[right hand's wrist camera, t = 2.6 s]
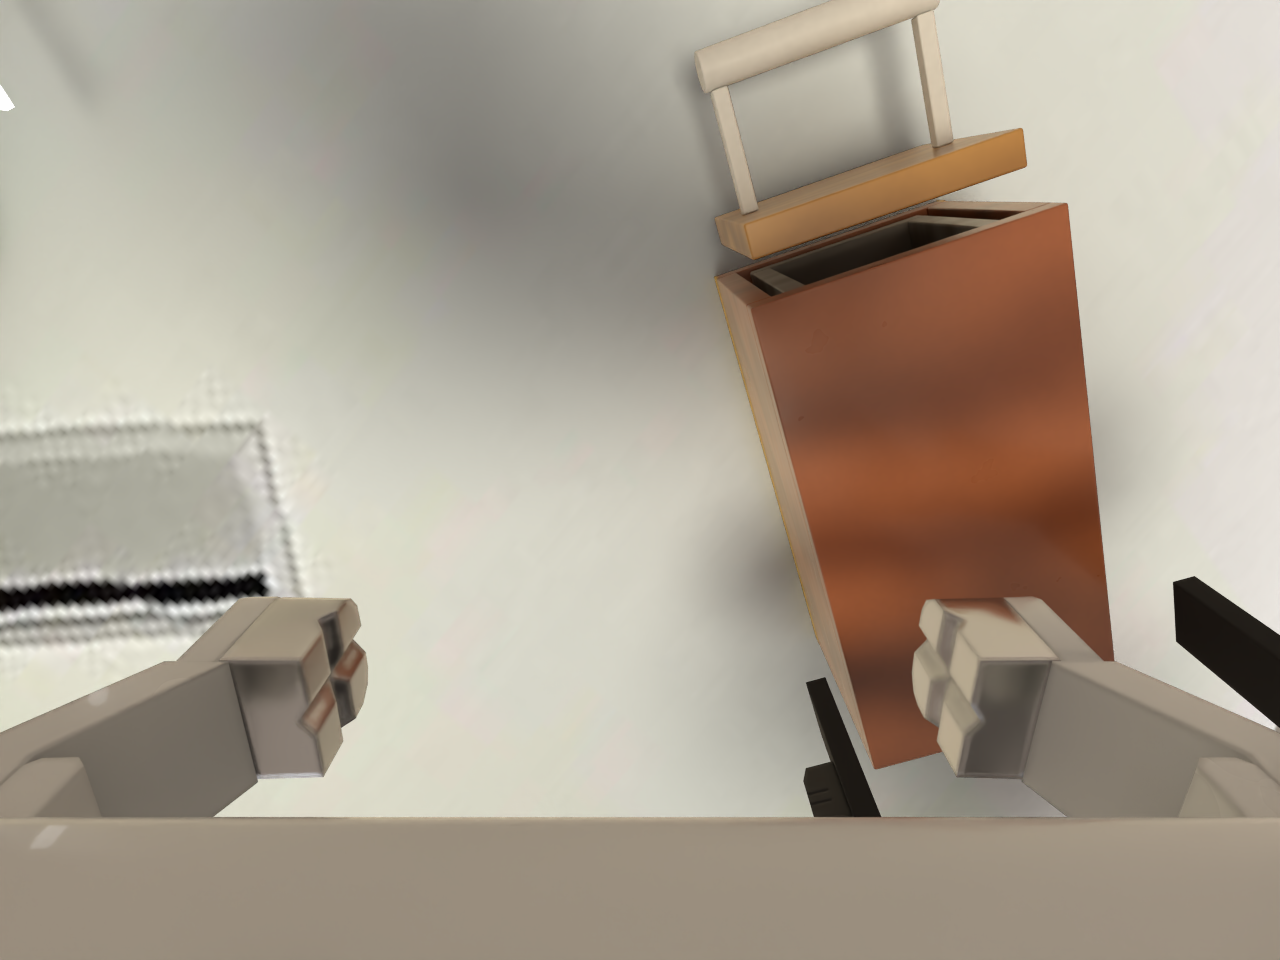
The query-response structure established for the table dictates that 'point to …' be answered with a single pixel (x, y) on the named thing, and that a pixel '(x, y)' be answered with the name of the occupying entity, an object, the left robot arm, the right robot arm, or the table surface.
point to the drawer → (861, 192)
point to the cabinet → (927, 444)
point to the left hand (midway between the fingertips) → (998, 658)
